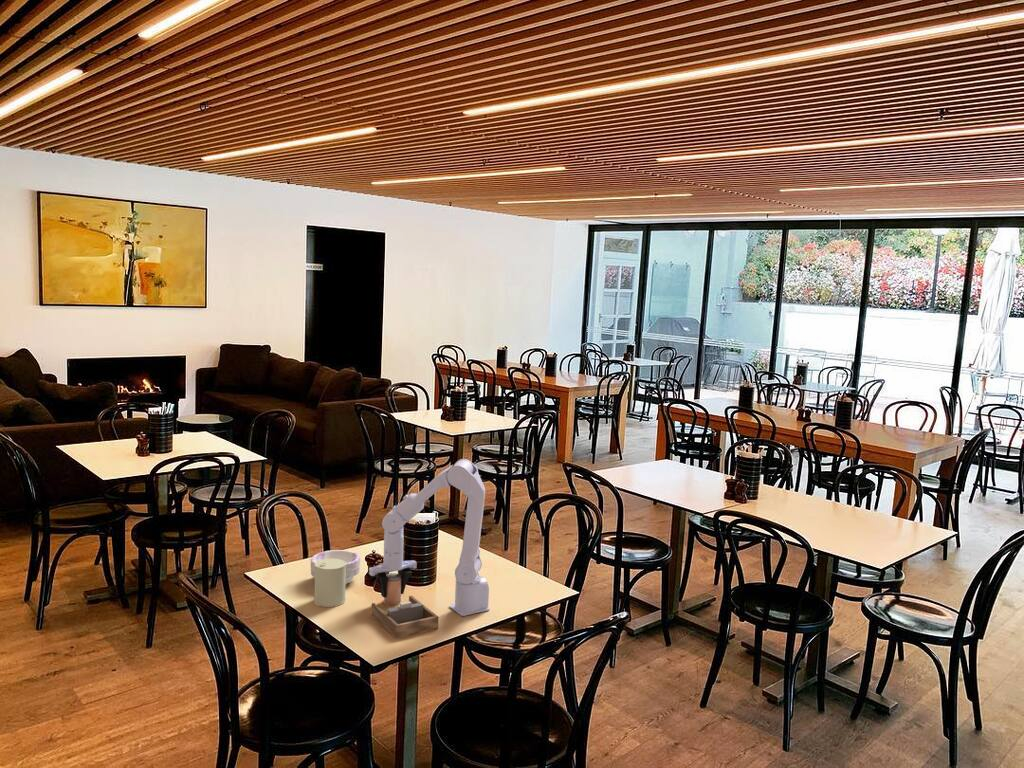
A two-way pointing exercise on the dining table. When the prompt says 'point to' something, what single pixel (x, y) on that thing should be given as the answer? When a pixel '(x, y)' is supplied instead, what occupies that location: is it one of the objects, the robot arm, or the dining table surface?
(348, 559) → the paper bowls
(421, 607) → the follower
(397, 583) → the jar
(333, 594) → the can
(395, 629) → the brown wooden tray
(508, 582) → the dining table surface
